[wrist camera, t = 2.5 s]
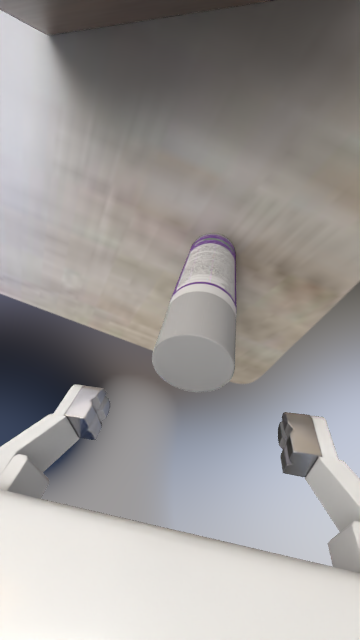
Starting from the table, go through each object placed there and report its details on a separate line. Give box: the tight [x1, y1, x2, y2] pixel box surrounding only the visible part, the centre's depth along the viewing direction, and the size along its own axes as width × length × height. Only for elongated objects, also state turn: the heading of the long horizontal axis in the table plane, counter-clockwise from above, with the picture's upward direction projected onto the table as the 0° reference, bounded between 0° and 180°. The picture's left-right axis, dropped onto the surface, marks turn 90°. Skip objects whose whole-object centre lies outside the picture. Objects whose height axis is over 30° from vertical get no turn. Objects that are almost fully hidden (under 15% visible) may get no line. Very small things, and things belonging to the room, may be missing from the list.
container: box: [152, 233, 236, 392], centre depth 19 cm, size 5×5×15 cm
